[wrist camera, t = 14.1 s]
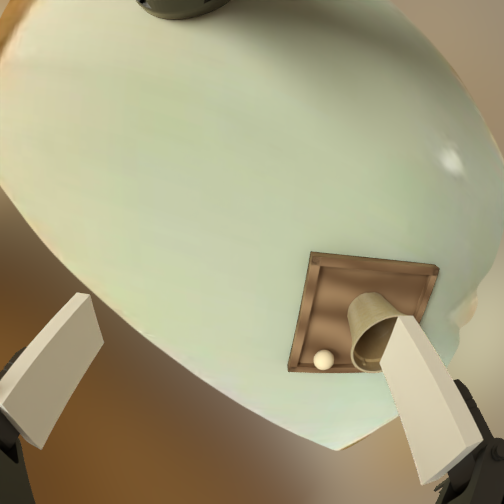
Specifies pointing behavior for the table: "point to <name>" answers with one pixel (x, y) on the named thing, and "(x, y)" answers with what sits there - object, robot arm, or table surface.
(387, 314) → the flower pot
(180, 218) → the table surface
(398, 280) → the tray
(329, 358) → the cream white ball
